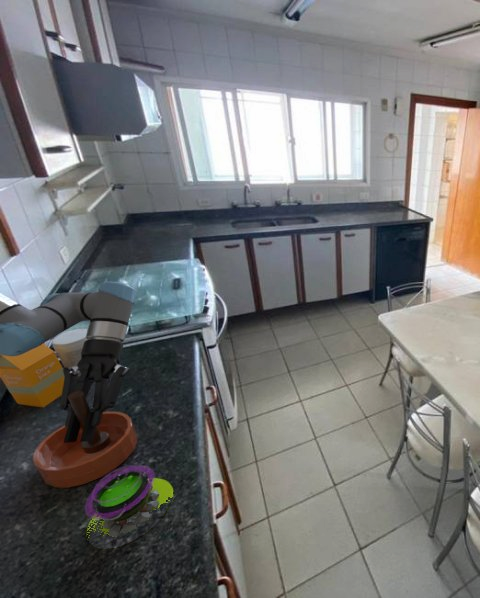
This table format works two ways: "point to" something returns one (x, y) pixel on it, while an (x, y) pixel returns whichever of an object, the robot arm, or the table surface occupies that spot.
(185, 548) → the table surface
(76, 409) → the wooden masher
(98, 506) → the toy cauldron
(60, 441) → the bowl
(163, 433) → the table surface
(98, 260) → the table surface
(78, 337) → the supplement tub
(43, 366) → the orange juice
